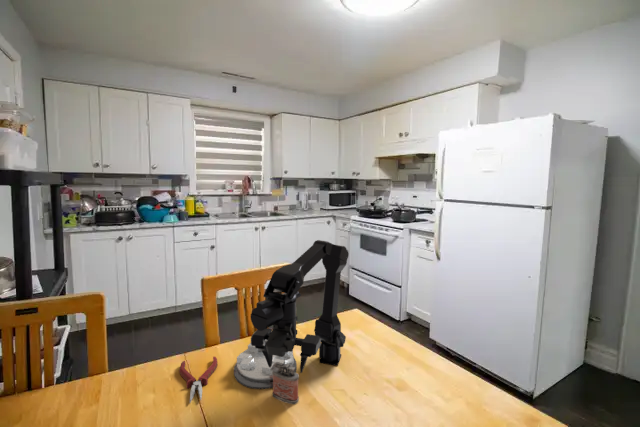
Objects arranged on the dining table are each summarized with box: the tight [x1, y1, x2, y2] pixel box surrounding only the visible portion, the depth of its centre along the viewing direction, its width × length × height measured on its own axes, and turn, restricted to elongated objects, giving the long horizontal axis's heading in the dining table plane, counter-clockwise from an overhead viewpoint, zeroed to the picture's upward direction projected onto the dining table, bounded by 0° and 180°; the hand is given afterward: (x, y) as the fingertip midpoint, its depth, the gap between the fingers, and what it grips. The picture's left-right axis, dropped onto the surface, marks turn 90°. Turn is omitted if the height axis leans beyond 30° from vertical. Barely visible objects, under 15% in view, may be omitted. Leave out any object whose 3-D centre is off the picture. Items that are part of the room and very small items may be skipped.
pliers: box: [178, 356, 219, 403], centre depth 96 cm, size 11×20×3 cm, turn 18°
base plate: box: [233, 357, 298, 390], centre depth 103 cm, size 20×20×1 cm
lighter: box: [272, 362, 300, 405], centre depth 89 cm, size 8×3×10 cm, turn 65°
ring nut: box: [236, 342, 295, 382], centre depth 102 cm, size 18×18×4 cm
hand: (285, 369), depth 89 cm, fingers open, 9 cm apart
